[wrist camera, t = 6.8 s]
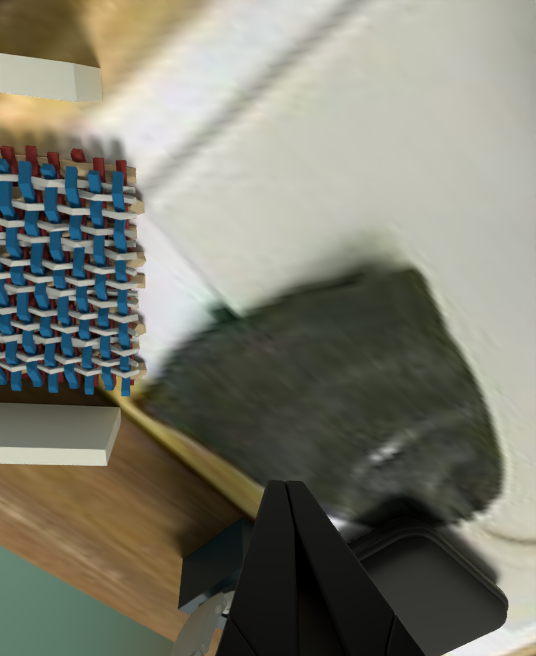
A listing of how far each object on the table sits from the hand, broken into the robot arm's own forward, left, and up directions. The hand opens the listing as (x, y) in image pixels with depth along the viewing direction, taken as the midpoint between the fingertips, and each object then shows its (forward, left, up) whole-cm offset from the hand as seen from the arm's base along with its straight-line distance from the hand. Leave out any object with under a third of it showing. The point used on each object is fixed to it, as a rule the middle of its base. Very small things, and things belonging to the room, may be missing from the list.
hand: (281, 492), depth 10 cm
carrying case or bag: (-13, +22, -12) cm, 28 cm away
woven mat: (+10, 0, -12) cm, 15 cm away
